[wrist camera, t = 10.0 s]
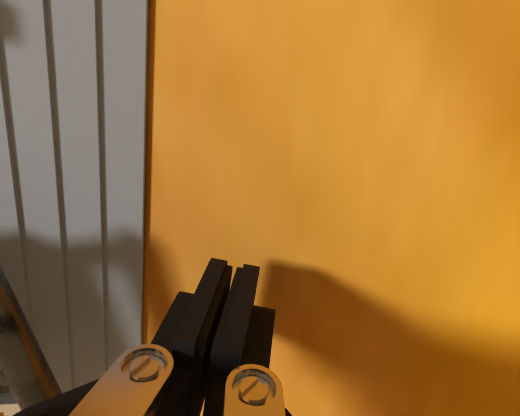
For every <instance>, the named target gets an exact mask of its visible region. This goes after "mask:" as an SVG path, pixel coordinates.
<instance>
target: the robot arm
mask: <svg viewBox="0 0 520 416" xmlns="http://www.w3.org/2000/svg"><path fill="white" fill-rule="evenodd" d="M259 270H260V267H258V266H252V265H247V264H244V266H243V268H240V267H237V269H236V272H235V275H234V278H233V282H232V285H231V288H230V283H231V276H232V266H229V265H227V261H225V260H220V259H215V258H211V259H210V261H209V263H208V266H207V268H206V270H205V272H204V274H203V276H202V278H201V280H200V283H199V285H198V287H197V289H196V291H195V293H194V294H191V293H186V292H181V291H180V292H179V293H178V294H177V296H176V298H175V300H174V302H173V303H172V305H171V307H170V309H169V311H168V313H167V314H166V316H165V318H164V320H163V322H162V324H161V326H160V327H159V329H158V331H157V333H156V335H155V337H154V339H153V340H152V342H151V344H140V345H137V346H133V347H131V348H129V349H127V350H126V351H124V352H123V353H122V354H121V355H120V356H119V357H118V358H117V359H116V361H115V362H114V363H113V364H112V365H111V366H110V368H109V369H108V370H107V371H106V372H105V373H104V375H103V376H102V377H101V378H99V379H97V380H94V381H92V382H90V383H87V384H85V385H82V386H80V387H77V388H75V389H72V390H70V391H67V392H65V393H62V394H60V395H57V396H55V397H52V398H50V399H47V400H45V401H42V402H40V403H37V404H35V405H33V406H30V407H28V408H25V409H23V410H21V411H19V412H17V413H16V414H14V415H13V416H200V413H201V409H202V406H203V403H204V399H205V403H204V411H203V416H292V415H291V414H290V413H289V412H288V410H287V409H286V408H285V406H284V397H283V388H282V385H281V382H280V380H279V378H278V377H277V376H276V374H275V373H273V372H272V371H271V370H270V369H269V363H270V355H271V346H272V337H273V328H274V320H275V309H270V308H265V307H259V306H254V299H255V293H256V288H257V282H258V276H259ZM229 290H230V291H229ZM0 416H4V412H0Z"/></svg>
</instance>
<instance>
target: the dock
mask: <svg viewBox="0 0 520 416" xmlns="http://www.w3.org/2000/svg"><path fill="white" fill-rule="evenodd" d="M147 47H148V0H0V265H1V268H2V270H3V272H4V274H5V276H6V278H7V280H8V282H9V284H10V286H11V288H12V290H13V292H14V294H15V296H16V298H17V300H18V302H19V304H20V307H21V309H22V311H23V313H24V315H25V317H26V319H27V321H28V323H29V325H30V327H31V329H32V331H33V333H34V335H35V337H36V339H37V341H38V344H39V346H40V348H41V350H42V352H43V354H44V356H45V358H46V360H47V362H48V364H49V366H50V368H51V370H52V372H53V374H54V376H55V378H56V380H57V383H58V385H59V387H60V389H61V391H62V393H65V392H67V391H70V390H72V389H75V388H77V387H80V386H82V385H85V384H87V383H90V382H92V381H94V380H97V379H99V378H101V377H102V376H103V375H104V373H105V372H106V371H107V370H108V369H109V368H110V366H111V365H112V364H113V363H114V362H115V361H116V359H117V358H118V357H119V356H120V355H121V354H122V353H123V352H124V351H126V350H127V349H129V348H131V347H133V346H137V345H140V344H142V310H143V257H144V205H145V152H146V99H147ZM0 386H7V384H6V382H5V380H4V379H3V377H2V375H1V373H0Z"/></svg>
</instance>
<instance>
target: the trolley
mask: <svg viewBox="0 0 520 416" xmlns="http://www.w3.org/2000/svg"><path fill="white" fill-rule="evenodd" d="M0 373H1V375H2V377H3V379H4V380H5V382H6V384H7V386H0V412H4V416H13V415H14V414H16V413H17V412H19V411H21V410H23V409H25V408H28V407H30V406H33V405H35V404H37V403H40V402H42V401H45V400H47V399H50V398H52V397H55V396H57V395H60V394H62V391H61V389H60V387H59V385H58V383H57V380H56V378H55V376H54V374H53V372H52V370H51V368H50V366H49V364H48V362H47V360H46V358H45V356H44V354H43V352H42V350H41V348H40V346H39V344H38V341H37V339H36V337H35V335H34V333H33V331H32V329H31V327H30V325H29V323H28V321H27V319H26V317H25V315H24V313H23V311H22V309H21V307H20V304H19V302H18V300H17V298H16V296H15V294H14V292H13V290H12V288H11V286H10V284H9V282H8V280H7V278H6V276H5V274H4V272H3V270H2V268H1V265H0Z"/></svg>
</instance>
